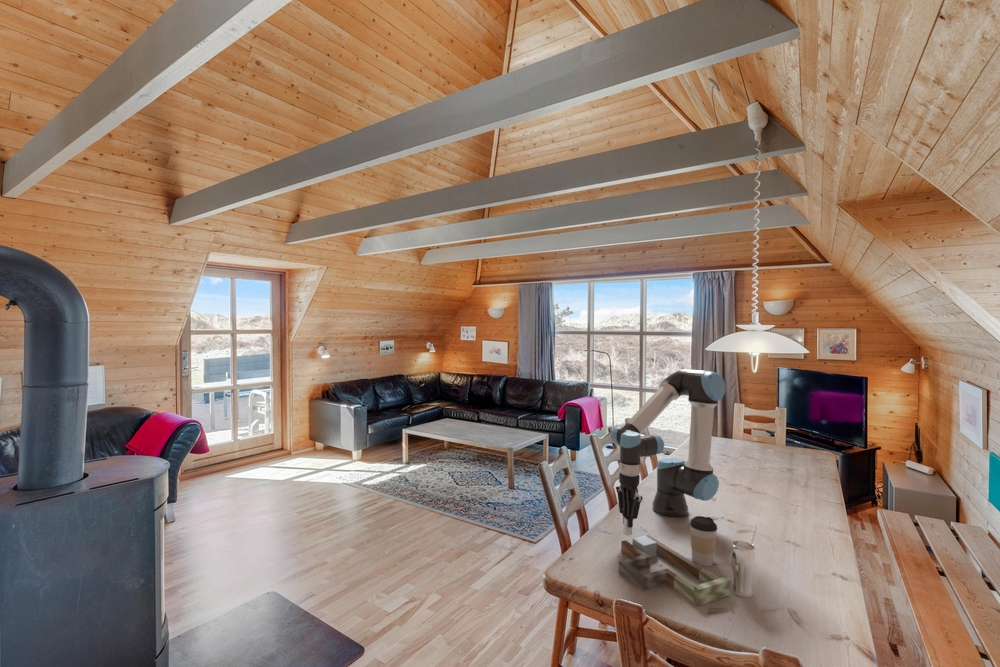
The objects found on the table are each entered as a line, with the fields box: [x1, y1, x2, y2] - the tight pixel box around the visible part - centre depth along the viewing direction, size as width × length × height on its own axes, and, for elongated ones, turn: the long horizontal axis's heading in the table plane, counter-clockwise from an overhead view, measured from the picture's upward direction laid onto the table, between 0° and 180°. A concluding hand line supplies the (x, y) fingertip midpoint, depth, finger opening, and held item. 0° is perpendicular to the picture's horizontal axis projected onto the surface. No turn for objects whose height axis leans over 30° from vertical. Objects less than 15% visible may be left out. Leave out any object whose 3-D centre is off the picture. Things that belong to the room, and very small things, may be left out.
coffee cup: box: [689, 515, 718, 567], centre depth 164 cm, size 9×9×15 cm
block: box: [631, 535, 657, 558], centre depth 169 cm, size 6×6×5 cm
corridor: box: [618, 534, 731, 607], centre depth 155 cm, size 23×36×5 cm, turn 24°
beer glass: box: [730, 539, 756, 598], centre depth 146 cm, size 7×7×15 cm
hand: (627, 534), depth 177 cm, fingers closed
